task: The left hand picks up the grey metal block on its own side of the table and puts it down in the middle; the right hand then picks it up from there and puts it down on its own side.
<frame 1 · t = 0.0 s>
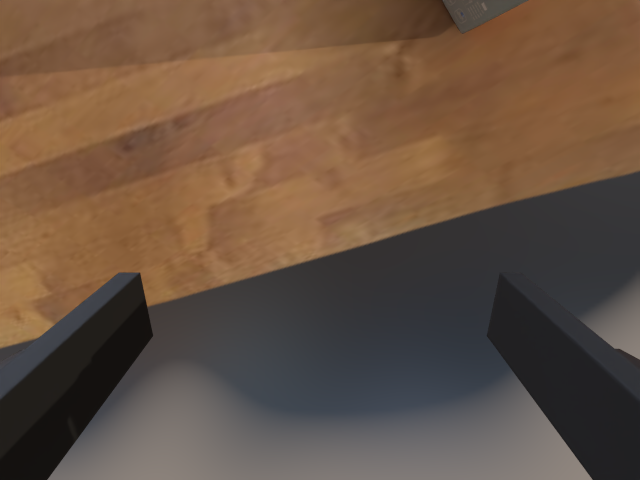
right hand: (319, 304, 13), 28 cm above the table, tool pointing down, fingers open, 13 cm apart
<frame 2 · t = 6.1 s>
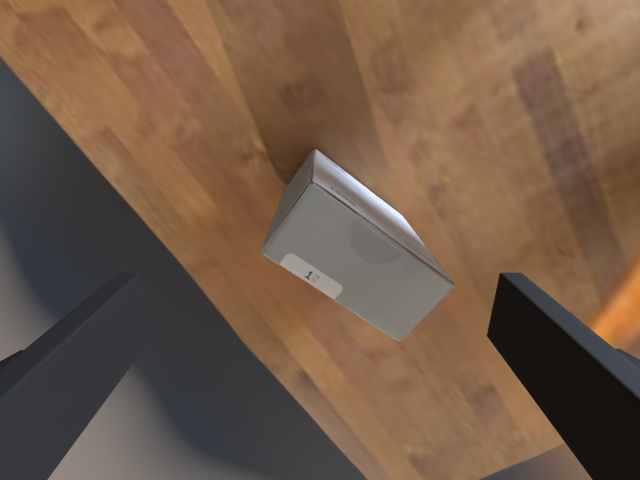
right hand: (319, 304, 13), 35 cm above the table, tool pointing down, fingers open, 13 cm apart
hard drive box: (343, 204, 47), on the table
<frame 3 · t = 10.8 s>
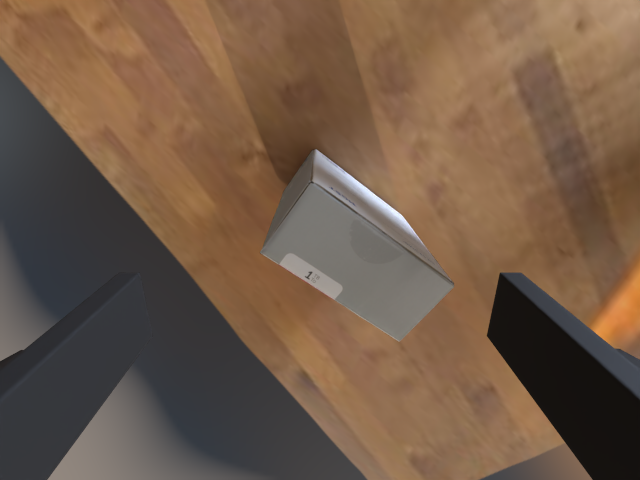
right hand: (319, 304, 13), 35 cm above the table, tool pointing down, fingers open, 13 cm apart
hard drive box: (343, 204, 47), on the table
when the left hand's fingers open (6 cm above the table, at t = 15.5 s): grey metal block drops 2 cm, on the table.
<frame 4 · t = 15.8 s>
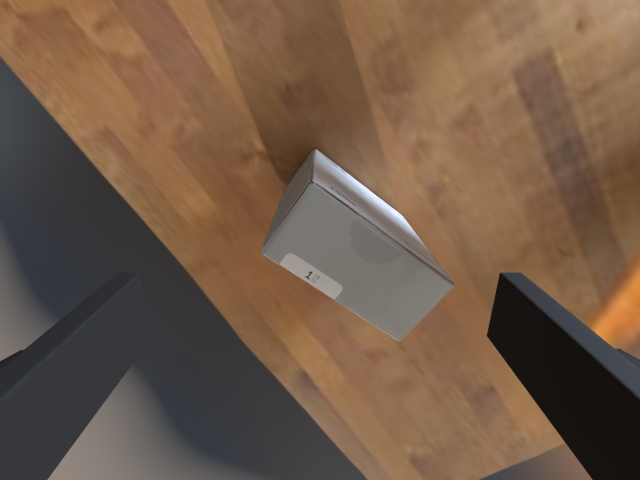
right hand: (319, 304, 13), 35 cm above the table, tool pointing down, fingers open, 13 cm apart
hard drive box: (343, 204, 47), on the table
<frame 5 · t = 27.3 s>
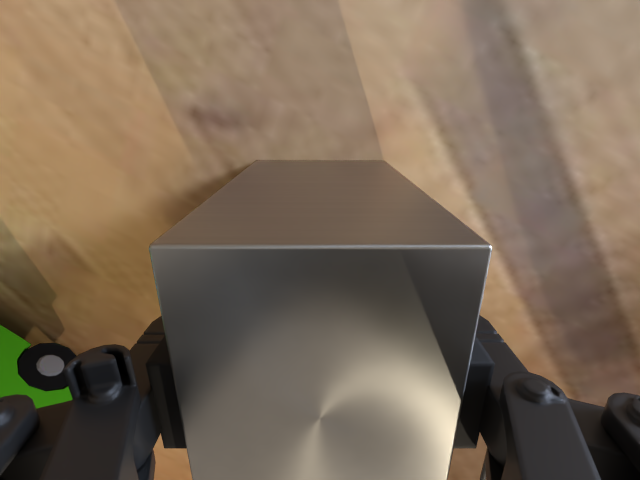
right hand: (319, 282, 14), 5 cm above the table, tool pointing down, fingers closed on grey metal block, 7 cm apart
grey metal block: (320, 241, 19), on the table, touching right hand
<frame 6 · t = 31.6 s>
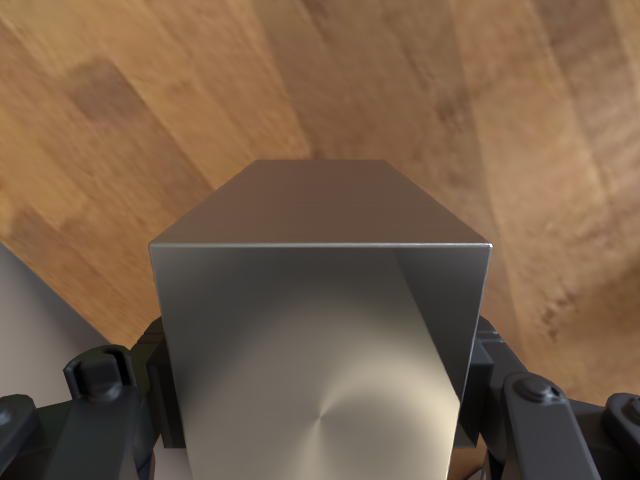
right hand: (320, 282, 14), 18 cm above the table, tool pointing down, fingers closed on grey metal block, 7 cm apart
grey metal block: (320, 240, 19), point 14 cm above the table, touching right hand
when the right hand's fingers open (6 cm above the table, at t = 36.0 s): grey metal block drops 2 cm, on the table.
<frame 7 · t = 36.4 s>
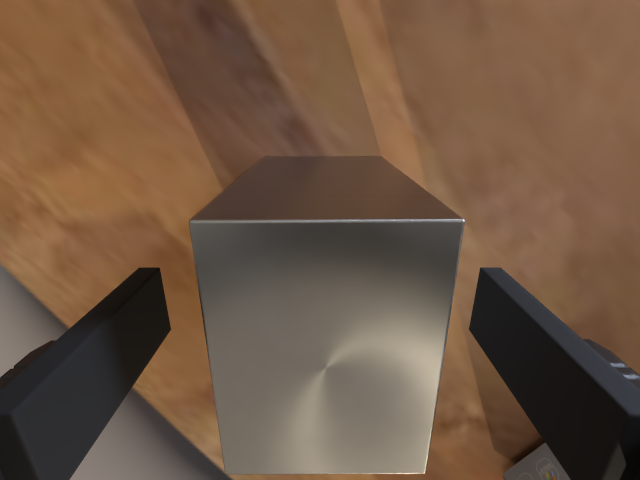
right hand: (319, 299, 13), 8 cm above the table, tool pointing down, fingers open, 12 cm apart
grey metal block: (322, 231, 20), on the table
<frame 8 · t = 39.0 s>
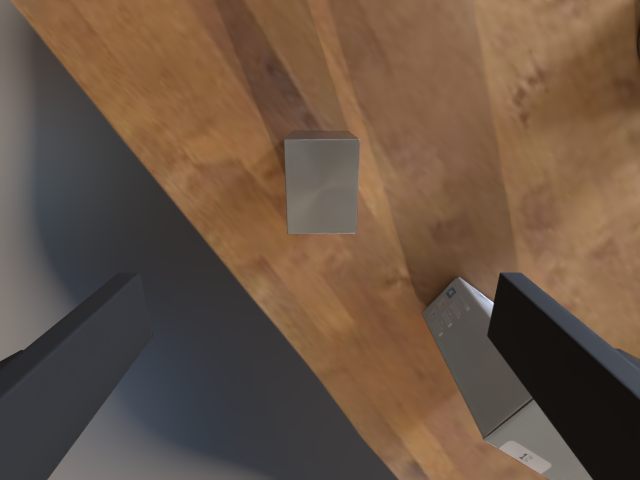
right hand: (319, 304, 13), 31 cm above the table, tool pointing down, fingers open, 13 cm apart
hard drive box: (476, 321, 50), on the table
grey metal block: (321, 168, 42), on the table
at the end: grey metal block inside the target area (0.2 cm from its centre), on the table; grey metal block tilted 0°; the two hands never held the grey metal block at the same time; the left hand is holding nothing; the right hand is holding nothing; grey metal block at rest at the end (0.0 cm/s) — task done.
